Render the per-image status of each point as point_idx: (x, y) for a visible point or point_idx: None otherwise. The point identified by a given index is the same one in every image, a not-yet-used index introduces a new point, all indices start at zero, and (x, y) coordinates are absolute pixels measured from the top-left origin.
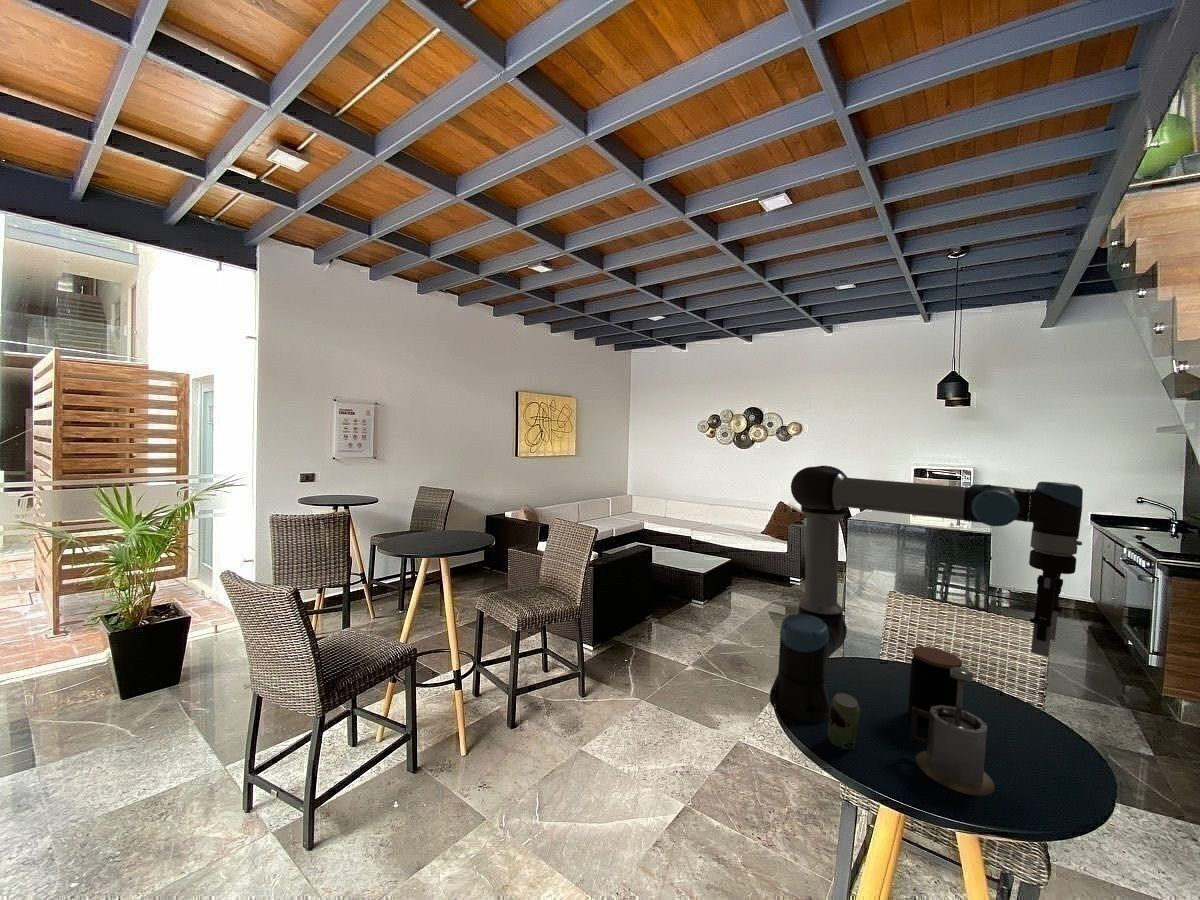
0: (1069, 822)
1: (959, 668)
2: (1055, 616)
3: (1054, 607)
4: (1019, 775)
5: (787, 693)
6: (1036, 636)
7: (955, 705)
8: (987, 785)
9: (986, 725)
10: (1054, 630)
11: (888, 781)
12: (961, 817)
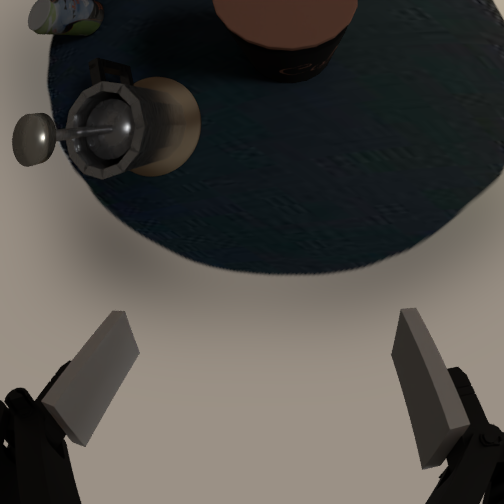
0: (182, 250)
1: (36, 127)
2: (420, 446)
3: (439, 485)
4: (243, 186)
5: None
6: (60, 369)
7: (274, 72)
8: (159, 166)
9: (121, 171)
10: (403, 386)
11: (70, 94)
12: None
